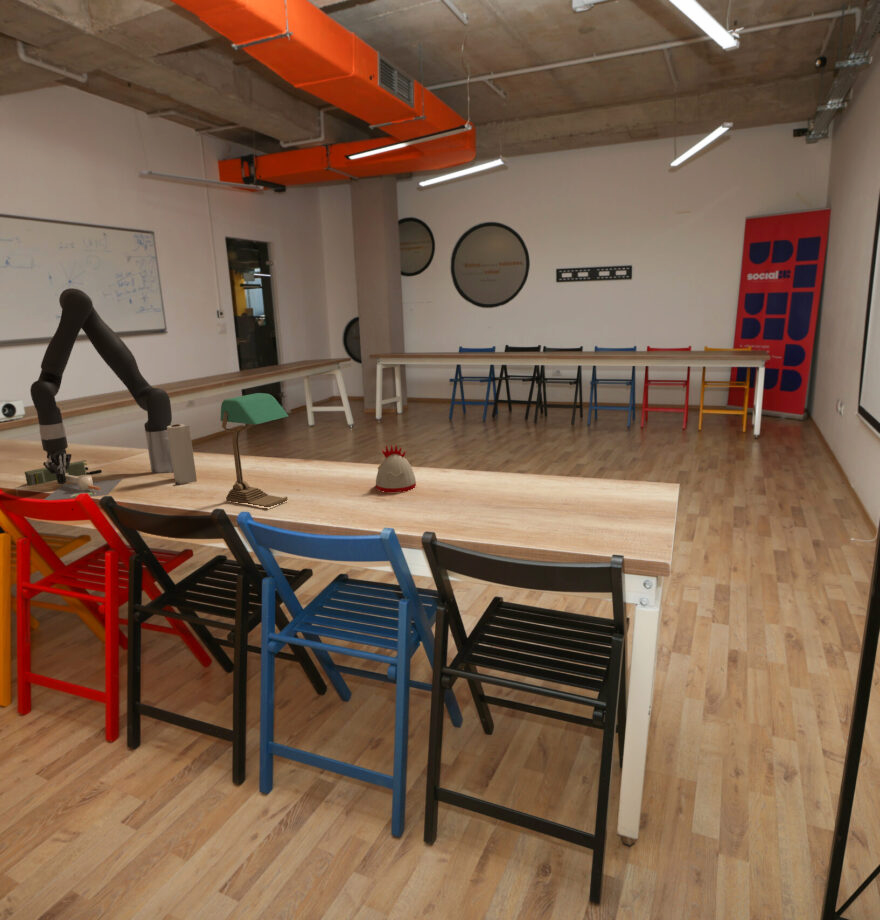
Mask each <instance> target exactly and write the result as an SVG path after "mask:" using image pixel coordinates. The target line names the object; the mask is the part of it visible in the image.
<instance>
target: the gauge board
mask: <svg viewBox="0 0 880 920" xmlns="http://www.w3.org/2000/svg"><path fill="white" fill-rule="evenodd" d="M121 481H123V478H118V479H117V478H116V479H107V480H97V481H96V480H95V481H93V486H96V487H100V490H95V489H91V490H86V491H80V490H79V484H77V483H73V482H70V483H64V484H61V486H59V487H58V488H56V490H54V491H52V493H50V494H49V495H48V496H47V497H45V498H44V499H43V500H48V501H58V500H67V499H68V500H69V499H76V498H75V497H76V496H77V495H79V494H81V493H88V494H89V495H90V496H91V497H100V496H101V497H103V496H108V495H109V494H110V493H111V492H112V491H113V490H114V489H115V488H116V487H117V486H118V484H119V483H120V482H121Z"/></svg>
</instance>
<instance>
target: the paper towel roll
mask: <svg viewBox="0 0 880 920" xmlns="http://www.w3.org/2000/svg"><path fill="white" fill-rule="evenodd" d="M167 431H168V438H169V445H170V451H171V458H172V465H173V472H174V473H173V477H174V481H175V484H177V485H179V484H181V485H182V484H191V483H196V482H198V479H197V471H196V463H195V457H194V450H193V449H194V448H193V442H192V436H191V428H190V425H185V423H184V424H182V423H179V424H171V425H170V426H167Z"/></svg>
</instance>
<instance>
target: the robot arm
mask: <svg viewBox="0 0 880 920" xmlns="http://www.w3.org/2000/svg"><path fill="white" fill-rule="evenodd" d="M58 302H59V306H60V308H61V315H60V319H59V323H58V325H57V328H56V331H55V332H54V335H53V336H52V338H51V340H50V341H49V343H48V345H47V348H46V350H45V352H44V355H43V358H42V361H41V363H40V369H41V370H40V373H39V377H38V378H37V379H38V380H36V381H34V382H32V384H31V385H30V391H29V392H30V396H31V400H32V403H33V405H34V408H35V410H36V415H37V419H38V420H37V421H38V424H39V425H38V426H39V435H40V440H41V446H42V450H43V451H45V452H46V461H44V462H43V463H42V465H43V467H44V468H47V469H48V471H49V472H50V473H51V474H56V477H57V480H56V481H57V482H56V483H57V484H58V485H63V484H67V481H66V477H65V472H66V470H68V468H69V464H70V463H71V459H72V454H71V453H67V450H66V449H68V448H69V446H68V445H69V444H68V439H67V434H66V429H65V428H66V427H65V426H64V422H63V417H62V413H61V412H62V411H61V409H60V407H59V406H58V405H57V402H56V396H57V394H58V393H59V390H60V389H61V384H62V379H63V374H64V372H65V370H66V368H67V364H68V362H69V359H70V357H71V353H72V350H73V348H74V345H75V343H76V340H77V337H78V336H79V333H80V332H81V330H82V331H83V332H84V333H85V335H86V337H87V338H88V340H89V342H90V343H91V344H92V346H93V348H94V350H95V351H96V352H97V353H98V355H99V357H100V358H102V360H103V361H104V362H105V364H106V365H107V366H108V367H109V368H110V369H111V371H113V373H114V374H115V376H116V377H117V378H118V379H119V381H121V383H122V384H124V386H125V387H126V389H127V390H128V392H129V393H130V395H131V396H132V398H133V399H134V402H136V404H137V405H138V406H139V408H140V409H142V410H143V411H145V412H147V420H146V422H145V423H144V425H143V426H144V432H145V433H144V434H145V438H146V445H147V451H148V457H149V463H150V464H149V466H150V471H151V474H174V472H173V465H172V458H171V451H170V445H169V438H168V431H167V426H170V425H172V421H173V420H172V418H173V415H172V405H171V399H170V395H169V394H168V393H167V391H166V390H164V389H163V388H158V387H157V388H156V387H153V386H152V385H151V384H150V383H149V382H148V380H146V379H145V378H144V376H143V375H142V373H141V372H140V369H139V366H138V363H137V360H136V358H135V355H134V354H133V353H132V351H131V350H130V349H129V347H128V345H126V344H125V342H124V340H122V339H121V337H120V336H118V334H117V333H116V332H115V331H114V330H113V329H112V328H111V327H110V326H109V325H108V324H107V323H106V322H105V321H104V320H103V319H102V318H101V316H100V314H99V313H98V312H97V310H96V309H95V307H94V303H93V301H92V298H91V297H90V296H89V295H88V294H87V293H86V292H84V291H82V290H81V289H78V288H74V287H73V288H67V289H64V290H62V292H61V293H60V295H59V299H58Z"/></svg>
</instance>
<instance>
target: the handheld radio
mask: <svg viewBox="0 0 880 920" xmlns="http://www.w3.org/2000/svg"><path fill="white" fill-rule="evenodd" d="M87 465H88V463H87V460H85V459H84V460H79V461H74V462H70V464H69V468H68V470H66V472H65V473H68V474H69V475H73V476H77V477H81V476H92V475H97V474H98V475H99V474H102V469H96V470H91V471H88V470H89V467H88V466H87ZM87 471H88V472H87ZM24 474H25V475H24V476H25V480H26V484H27V486H29V487H31V486H32V487H33V486H36V485H41V484H46V483H48V482H49V483H50V482H55V481H57V477H56V474H51V473H50V472H49V471H48V469H47V468H46V467H41V468H38V469H32V470H26V471H24Z"/></svg>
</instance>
